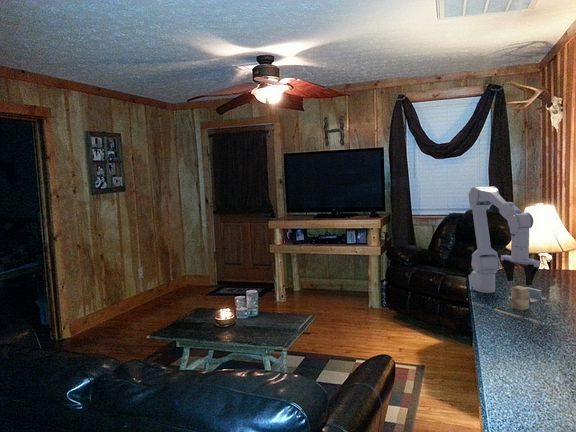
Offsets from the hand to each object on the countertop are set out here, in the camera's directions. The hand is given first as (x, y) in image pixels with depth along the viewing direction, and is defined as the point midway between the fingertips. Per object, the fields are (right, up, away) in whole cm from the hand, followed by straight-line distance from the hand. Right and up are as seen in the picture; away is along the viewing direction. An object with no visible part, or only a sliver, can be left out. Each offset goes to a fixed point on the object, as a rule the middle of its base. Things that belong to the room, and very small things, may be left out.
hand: (519, 282), depth 166 cm
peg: (-1, -9, -3) cm, 10 cm away
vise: (+8, -8, +10) cm, 15 cm away
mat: (-1, -10, -3) cm, 10 cm away
